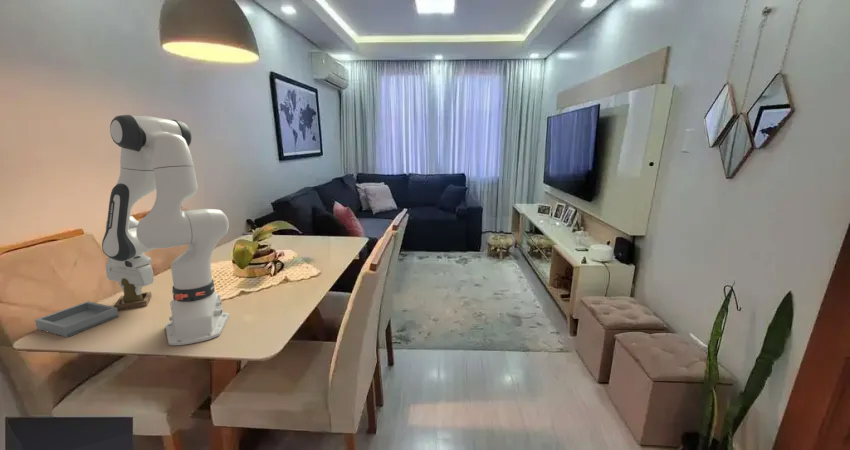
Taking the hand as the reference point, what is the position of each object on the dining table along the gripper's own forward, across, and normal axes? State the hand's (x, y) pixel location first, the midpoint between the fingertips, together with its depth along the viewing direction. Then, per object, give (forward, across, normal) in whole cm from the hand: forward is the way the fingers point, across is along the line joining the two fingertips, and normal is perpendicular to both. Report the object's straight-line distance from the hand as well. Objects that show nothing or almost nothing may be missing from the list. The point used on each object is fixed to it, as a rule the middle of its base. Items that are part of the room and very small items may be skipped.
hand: (132, 293), depth 141 cm
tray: (+4, -1, -17) cm, 18 cm away
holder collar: (+4, 0, 0) cm, 4 cm away
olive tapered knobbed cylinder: (+4, 0, 0) cm, 4 cm away
